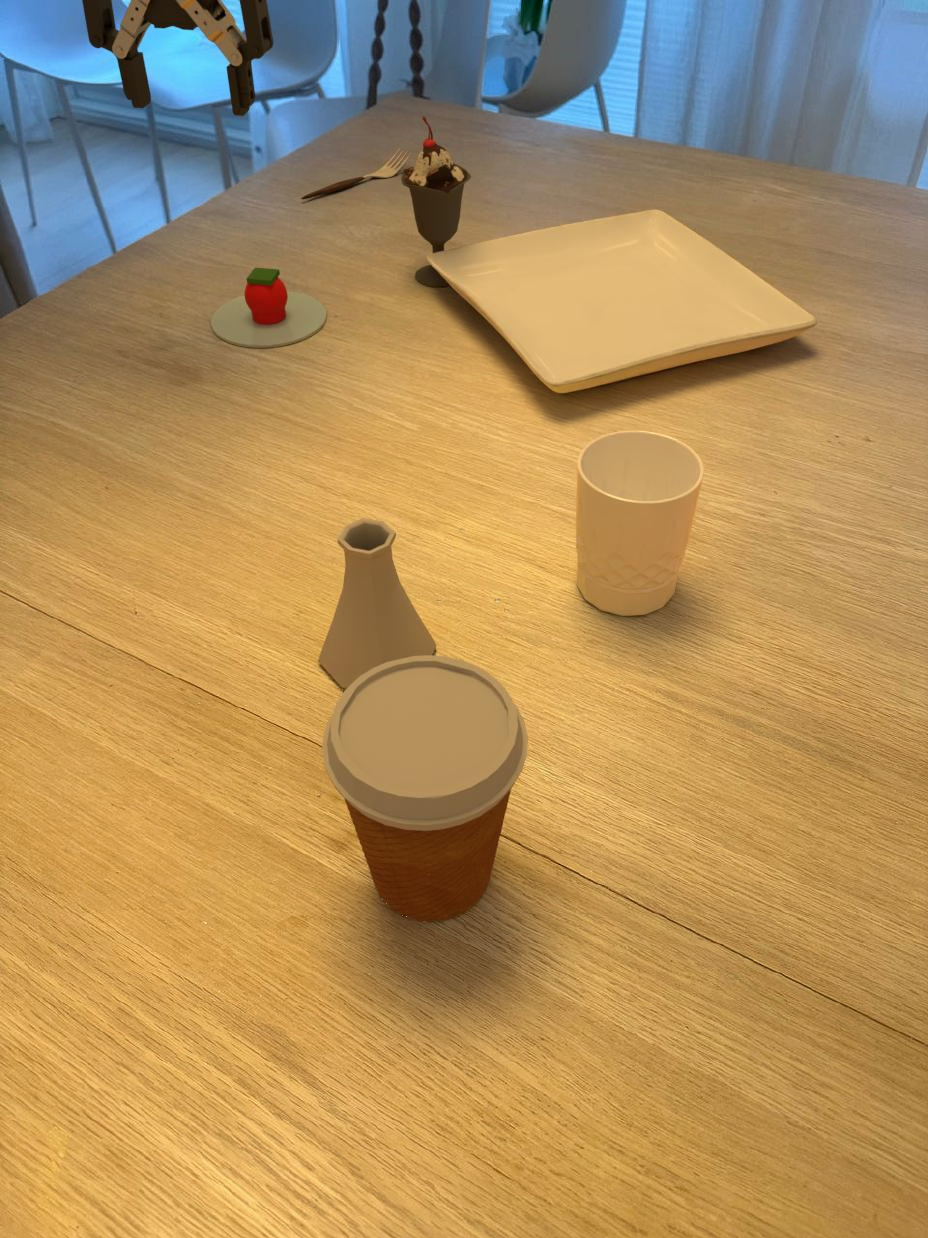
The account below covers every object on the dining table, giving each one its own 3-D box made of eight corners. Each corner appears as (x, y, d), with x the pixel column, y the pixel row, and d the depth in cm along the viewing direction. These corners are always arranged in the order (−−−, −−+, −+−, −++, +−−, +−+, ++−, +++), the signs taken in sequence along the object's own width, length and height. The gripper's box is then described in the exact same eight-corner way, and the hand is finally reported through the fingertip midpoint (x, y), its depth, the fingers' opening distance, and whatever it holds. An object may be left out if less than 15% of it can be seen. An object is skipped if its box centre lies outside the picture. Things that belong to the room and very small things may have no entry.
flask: (298, 666, 67) (277, 545, 60) (369, 603, 72) (357, 483, 65) (387, 714, 64) (377, 592, 57) (456, 645, 69) (453, 524, 62)
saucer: (193, 342, 98) (193, 339, 98) (235, 288, 106) (235, 286, 106) (306, 352, 96) (306, 350, 96) (340, 298, 104) (340, 295, 104)
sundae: (424, 256, 111) (418, 105, 100) (482, 268, 109) (482, 115, 98) (394, 282, 106) (385, 127, 96) (453, 295, 104) (450, 138, 94)
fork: (295, 199, 122) (293, 182, 121) (399, 164, 130) (399, 147, 129) (308, 206, 121) (306, 188, 119) (413, 169, 129) (413, 152, 127)
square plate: (549, 423, 87) (551, 382, 85) (423, 287, 106) (421, 249, 103) (814, 353, 95) (824, 313, 93) (655, 237, 114) (659, 201, 111)
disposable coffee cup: (335, 953, 53) (309, 808, 44) (349, 798, 60) (329, 648, 51) (525, 951, 53) (534, 806, 44) (517, 797, 60) (524, 647, 51)
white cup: (681, 629, 69) (703, 508, 62) (562, 616, 70) (571, 495, 64) (684, 554, 75) (704, 435, 68) (573, 542, 76) (583, 424, 69)
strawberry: (242, 324, 100) (234, 281, 97) (256, 305, 103) (250, 262, 100) (282, 328, 99) (276, 285, 96) (295, 308, 102) (290, 266, 99)
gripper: (33, -129, 73) (90, 118, 84) (229, -121, 71) (261, 131, 82) (81, -146, 78) (129, 88, 89) (265, -140, 76) (290, 99, 87)
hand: (192, 108), depth 86 cm, fingers open, 8 cm apart
